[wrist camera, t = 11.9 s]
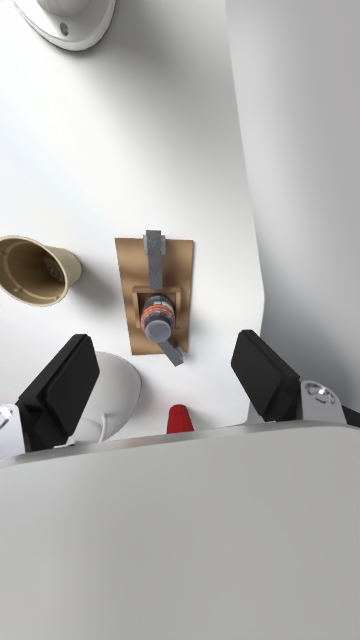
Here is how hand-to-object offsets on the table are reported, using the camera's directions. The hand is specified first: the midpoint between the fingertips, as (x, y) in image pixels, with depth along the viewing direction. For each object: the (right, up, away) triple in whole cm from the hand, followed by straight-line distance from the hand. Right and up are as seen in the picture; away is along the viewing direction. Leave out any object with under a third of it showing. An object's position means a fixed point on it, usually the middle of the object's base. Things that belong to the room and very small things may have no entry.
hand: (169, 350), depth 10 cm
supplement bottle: (-4, +5, +23) cm, 24 cm away
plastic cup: (0, -29, +42) cm, 50 cm away
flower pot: (-21, +12, +19) cm, 31 cm away
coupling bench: (-4, +5, +24) cm, 25 cm away
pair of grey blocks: (-2, +5, +23) cm, 24 cm away
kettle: (-23, -16, +33) cm, 43 cm away
